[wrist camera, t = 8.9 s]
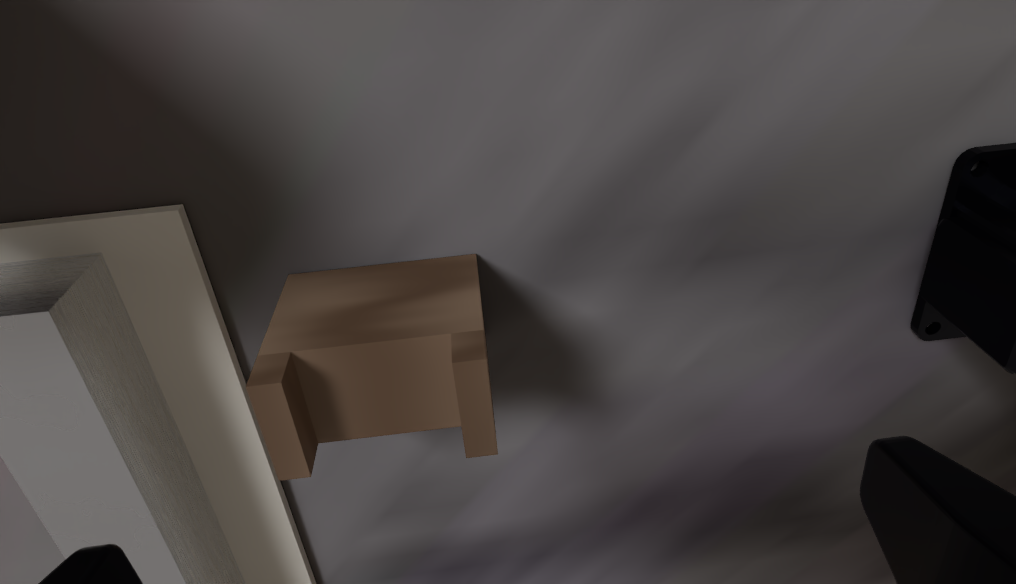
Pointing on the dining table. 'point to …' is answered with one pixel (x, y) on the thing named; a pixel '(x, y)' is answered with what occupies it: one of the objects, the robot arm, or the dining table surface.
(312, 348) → the post
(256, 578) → the mat
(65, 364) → the rail
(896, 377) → the dining table surface
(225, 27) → the dining table surface
